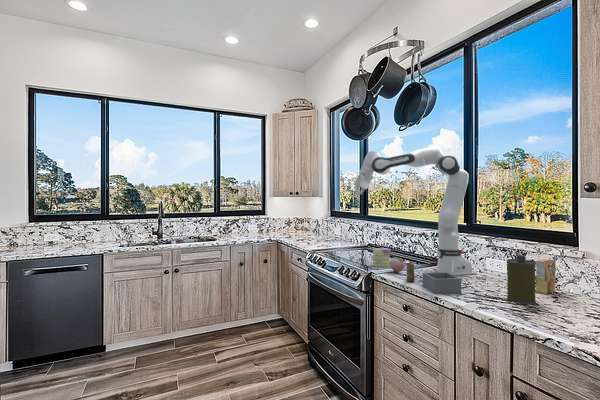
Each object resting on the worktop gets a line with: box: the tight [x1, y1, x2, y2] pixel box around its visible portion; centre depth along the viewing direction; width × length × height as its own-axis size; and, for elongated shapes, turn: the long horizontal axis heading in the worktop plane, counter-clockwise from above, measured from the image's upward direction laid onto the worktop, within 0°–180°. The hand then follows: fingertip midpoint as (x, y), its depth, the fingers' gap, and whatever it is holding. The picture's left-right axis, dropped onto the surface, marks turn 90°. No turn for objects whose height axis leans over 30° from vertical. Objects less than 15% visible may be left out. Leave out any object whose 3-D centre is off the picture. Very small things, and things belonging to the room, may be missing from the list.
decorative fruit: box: [389, 256, 406, 273], centre depth 190 cm, size 9×8×10 cm
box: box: [372, 247, 391, 268], centre depth 208 cm, size 10×6×12 cm, turn 84°
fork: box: [404, 260, 420, 267], centre depth 209 cm, size 3×20×2 cm, turn 21°
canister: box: [506, 254, 537, 305], centre depth 136 cm, size 11×10×20 cm
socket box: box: [422, 271, 462, 295], centre depth 153 cm, size 13×13×7 cm
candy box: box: [535, 258, 556, 295], centre depth 148 cm, size 9×4×15 cm, turn 116°
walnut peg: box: [406, 262, 415, 284], centre depth 169 cm, size 4×4×10 cm
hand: (358, 193), depth 210 cm, fingers open, 8 cm apart
